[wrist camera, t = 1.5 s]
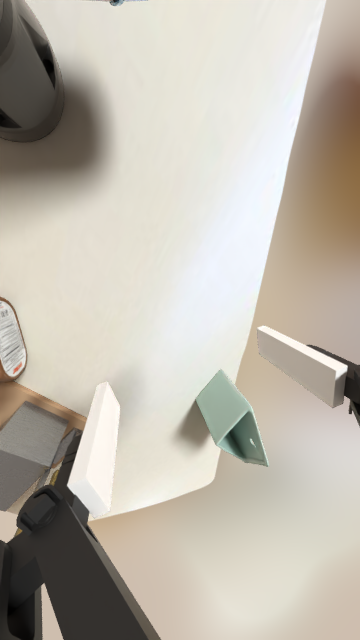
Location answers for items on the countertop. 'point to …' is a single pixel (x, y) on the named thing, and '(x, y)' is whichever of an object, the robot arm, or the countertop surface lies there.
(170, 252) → the countertop surface
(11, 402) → the board
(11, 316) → the tin
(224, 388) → the planter
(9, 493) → the block
